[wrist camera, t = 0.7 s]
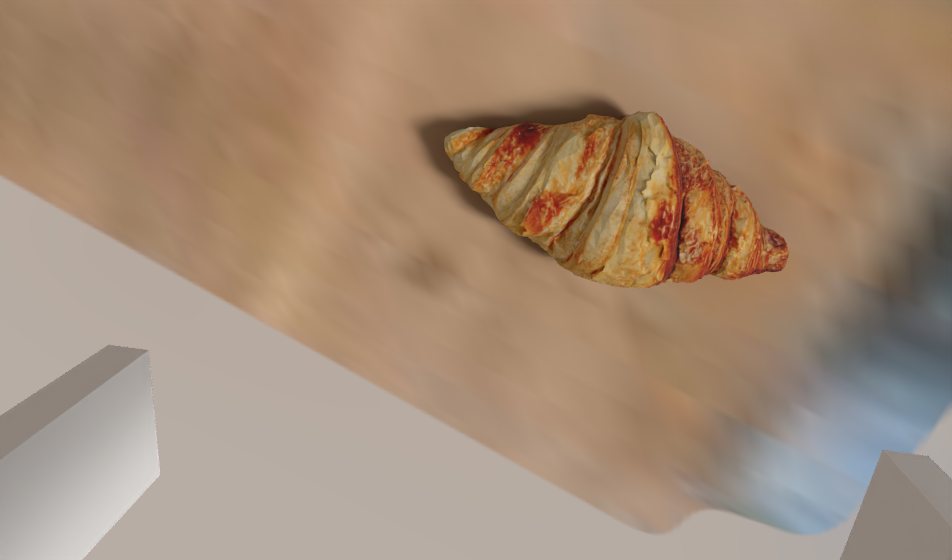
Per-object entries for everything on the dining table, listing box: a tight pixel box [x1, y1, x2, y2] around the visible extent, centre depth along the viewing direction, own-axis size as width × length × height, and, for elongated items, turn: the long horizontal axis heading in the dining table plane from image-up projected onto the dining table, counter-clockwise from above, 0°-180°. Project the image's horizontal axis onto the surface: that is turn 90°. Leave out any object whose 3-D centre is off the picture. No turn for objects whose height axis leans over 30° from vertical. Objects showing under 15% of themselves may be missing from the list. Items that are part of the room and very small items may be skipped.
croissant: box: [444, 112, 789, 288], centre depth 35 cm, size 21×10×8 cm, turn 73°
